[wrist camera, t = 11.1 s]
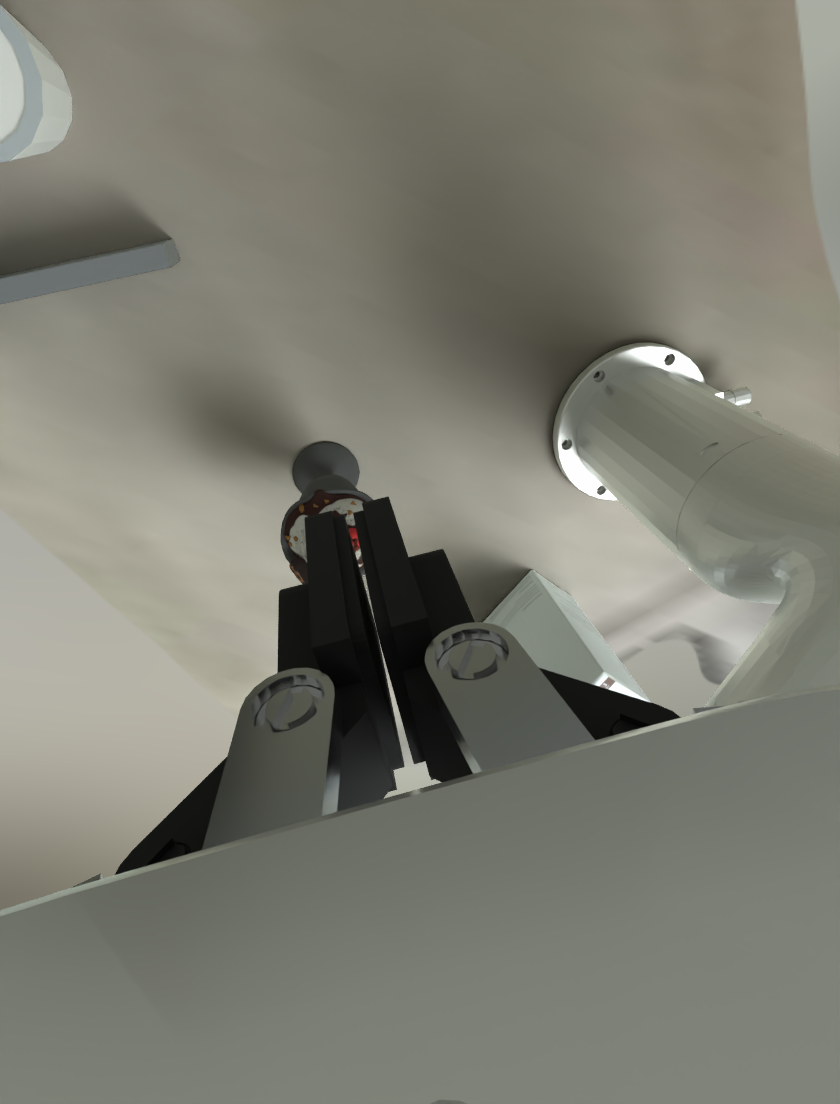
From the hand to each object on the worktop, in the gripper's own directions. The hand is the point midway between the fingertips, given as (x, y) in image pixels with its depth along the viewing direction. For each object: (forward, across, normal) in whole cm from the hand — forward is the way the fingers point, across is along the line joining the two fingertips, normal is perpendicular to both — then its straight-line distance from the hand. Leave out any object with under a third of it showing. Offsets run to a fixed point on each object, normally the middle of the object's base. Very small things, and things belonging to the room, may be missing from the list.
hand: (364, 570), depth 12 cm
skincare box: (+33, -12, +30) cm, 46 cm away
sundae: (+33, +2, +12) cm, 35 cm away
